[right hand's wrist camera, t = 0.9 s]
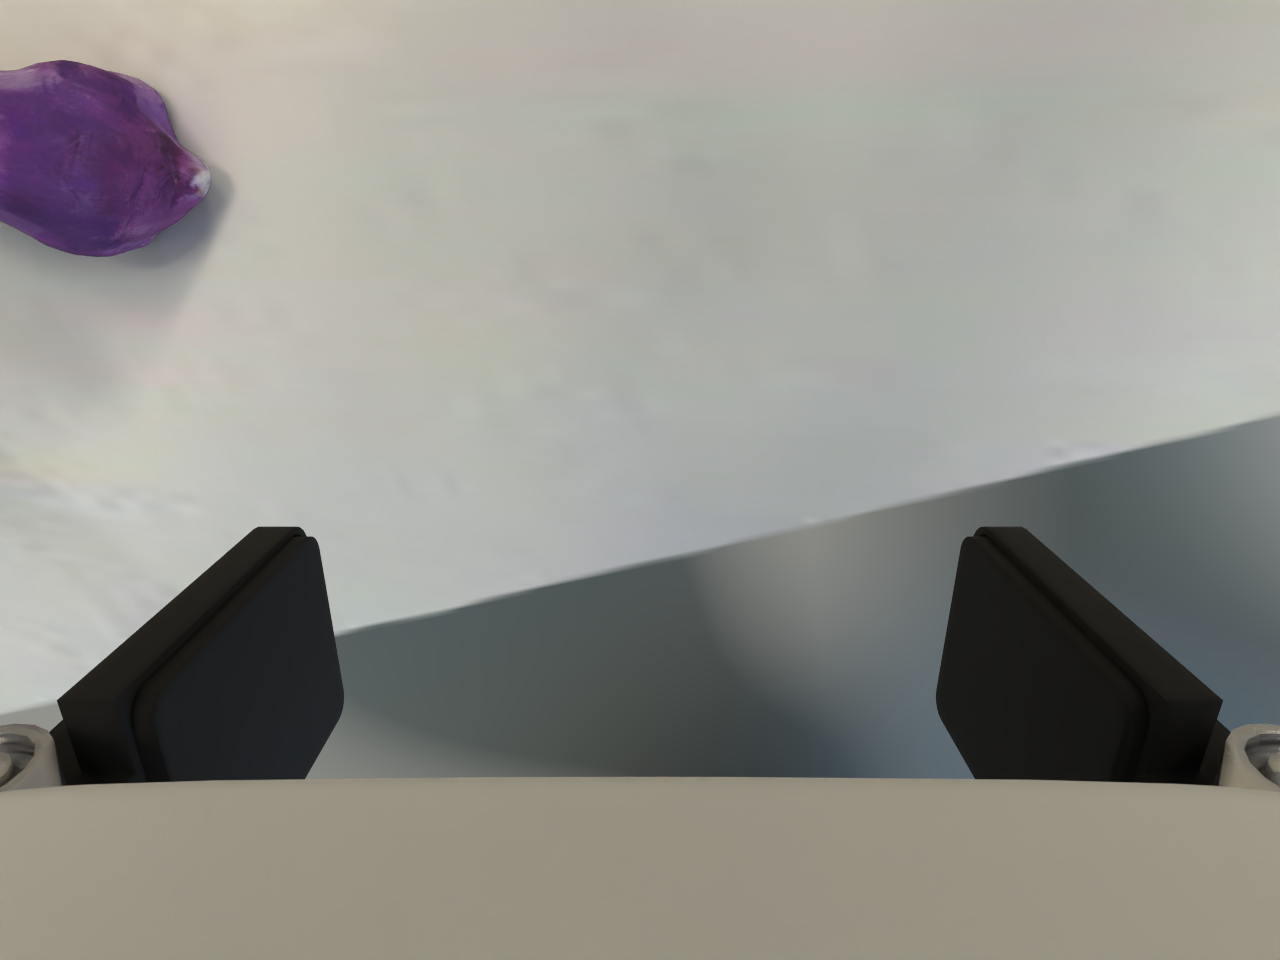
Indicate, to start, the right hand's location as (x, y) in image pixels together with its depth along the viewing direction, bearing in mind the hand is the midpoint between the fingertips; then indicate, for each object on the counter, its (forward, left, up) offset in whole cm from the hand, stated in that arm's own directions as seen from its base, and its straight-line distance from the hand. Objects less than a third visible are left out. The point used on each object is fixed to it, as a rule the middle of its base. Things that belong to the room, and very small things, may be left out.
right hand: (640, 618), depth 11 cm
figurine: (-4, -27, -30) cm, 41 cm away
